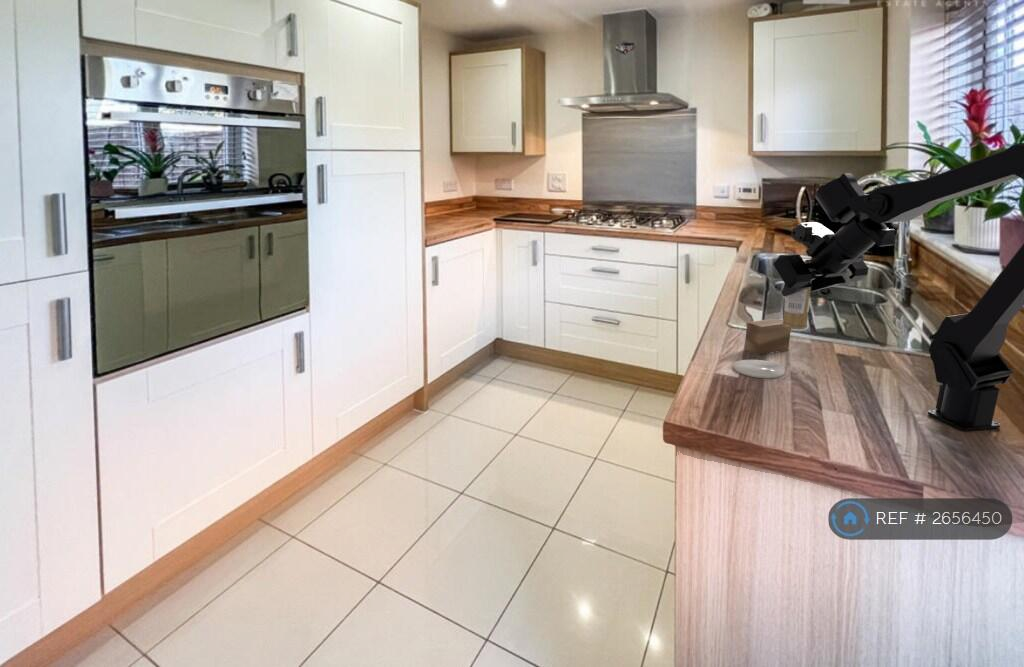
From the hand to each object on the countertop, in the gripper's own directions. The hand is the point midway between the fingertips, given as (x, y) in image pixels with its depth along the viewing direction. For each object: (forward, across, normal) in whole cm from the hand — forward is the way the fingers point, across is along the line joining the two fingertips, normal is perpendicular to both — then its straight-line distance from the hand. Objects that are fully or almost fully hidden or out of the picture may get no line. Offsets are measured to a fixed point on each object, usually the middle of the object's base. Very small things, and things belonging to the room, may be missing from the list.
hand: (792, 293), depth 115 cm
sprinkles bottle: (+4, 0, +6) cm, 7 cm away
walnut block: (+13, 0, +6) cm, 14 cm away
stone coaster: (+7, +10, +12) cm, 17 cm away
